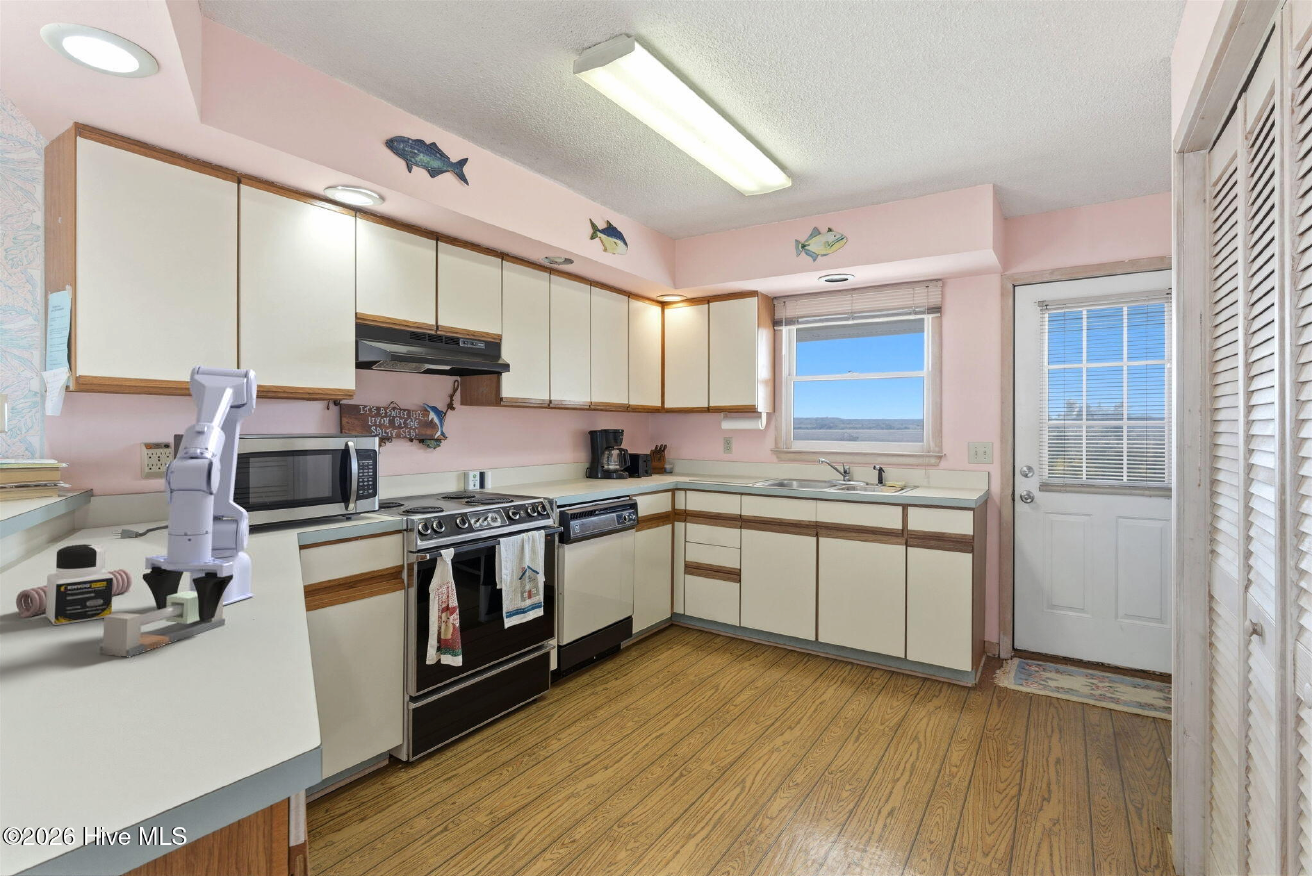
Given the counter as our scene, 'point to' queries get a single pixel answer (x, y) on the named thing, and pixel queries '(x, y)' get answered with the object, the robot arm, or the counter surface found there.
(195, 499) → the robot arm
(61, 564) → the medicine bottle
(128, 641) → the rod with sliding collar
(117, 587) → the coil
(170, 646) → the counter surface
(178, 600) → the sleeve
